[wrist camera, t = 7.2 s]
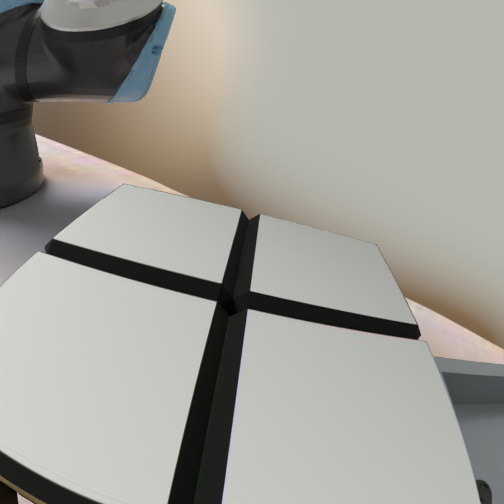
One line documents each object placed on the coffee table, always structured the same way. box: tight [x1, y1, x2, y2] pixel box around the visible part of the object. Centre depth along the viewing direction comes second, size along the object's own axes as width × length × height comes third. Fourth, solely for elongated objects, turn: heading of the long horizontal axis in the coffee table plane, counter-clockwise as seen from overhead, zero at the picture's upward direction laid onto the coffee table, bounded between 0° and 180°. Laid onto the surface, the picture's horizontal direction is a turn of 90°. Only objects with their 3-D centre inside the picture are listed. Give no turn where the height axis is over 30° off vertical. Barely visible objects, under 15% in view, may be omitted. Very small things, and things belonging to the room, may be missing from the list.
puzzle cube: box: [0, 184, 481, 504], centre depth 9 cm, size 10×10×10 cm
